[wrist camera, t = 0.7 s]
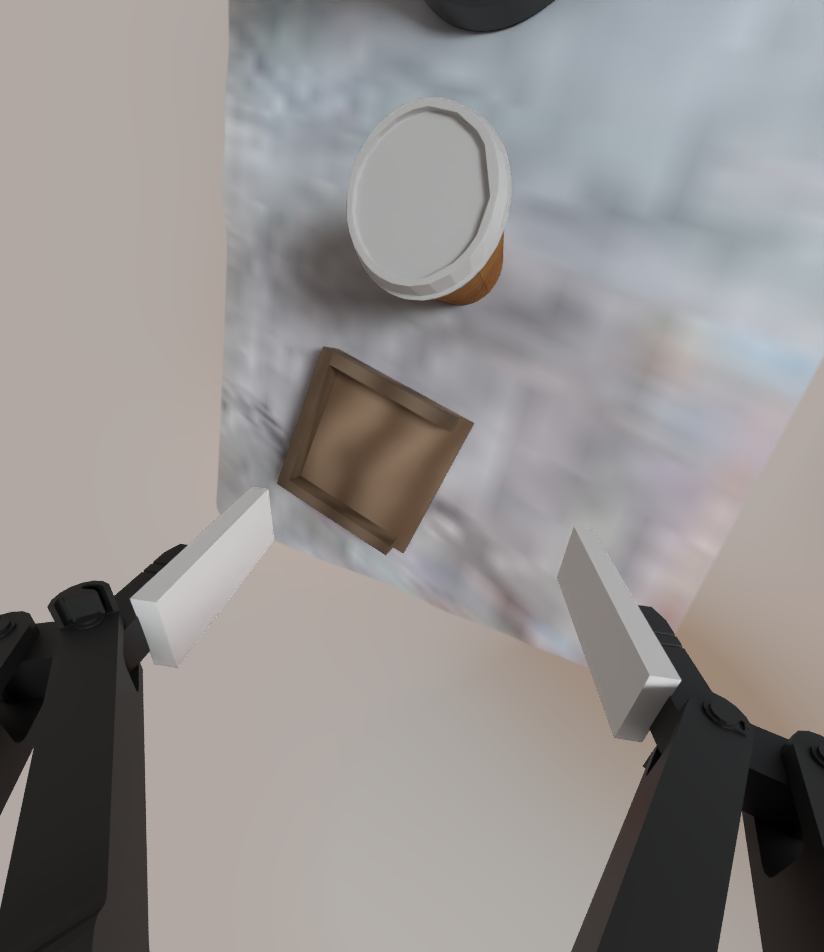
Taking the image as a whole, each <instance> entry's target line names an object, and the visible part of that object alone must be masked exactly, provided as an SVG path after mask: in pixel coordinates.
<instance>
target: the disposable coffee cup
mask: <svg viewBox="0 0 824 952" xmlns="http://www.w3.org/2000/svg"><path fill="white" fill-rule="evenodd" d="M511 193H512V187H511V171H510V166H509V162H508V157H507V153H506V151H505V148H504V145H503V143H502V141H501V139H500V138H499V136H498V134H497V132H496V131H495V130H494V128H493V127H492V126H491V125H490V124H489V122H488V121H487V120H486V119H485V118H484V117H482V116H481V115H479V114H478V113H476V112H475V111H474V110H472V109H470V108H468V107H466V106H464V105H462V104H460V103H458V102H456V101H454V100H452V99H446V98H440V97H430V98H421V99H416V100H414V101H411V102H409V103H406V104H404V105H402V106H400V107H398V108H397V109H395V110H394V111H392V112H391V113H390V114H389V115H387V116H386V117H385V118H384V119H383V120H381V121H380V122H379V124H378V125H377V126H376V127H375V128H374V130H373V131H372V132H371V133H370V134H369V136H368V137H367V139H366V140H365V142H364V144H363V145H362V147H361V149H360V151H359V153H358V155H357V157H356V159H355V162H354V165H353V168H352V171H351V174H350V179H349V184H348V189H347V222H348V227H349V232H350V236H351V239H352V242H353V245H354V248H355V252H356V255H357V257H358V259H359V261H360V263H361V265H362V267H363V269H364V270H365V271H366V273H367V274H368V275H369V277H370V278H371V279H372V280H373V281H374V282H375V283H376V284H377V285H378V286H379V287H380V288H382V289H384V290H385V291H387V292H388V293H390V294H392V295H395V296H397V297H400V298H403V299H409V300H420V301H424V300H431V299H434V300H438V301H442V302H446V303H450V304H454V305H467V304H471V303H474V302H477V301H478V300H480V299H481V298H483V297H484V296H485V295H487V294H488V293H489V292H490V291H491V289H492V288H493V286H494V285H495V284H496V282H497V280H498V278H499V276H500V272H501V269H502V263H503V238H504V228H505V225H506V223H507V220H508V216H509V209H510V202H511Z"/></svg>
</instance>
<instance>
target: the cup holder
mask: <svg viewBox="0 0 824 952" xmlns="http://www.w3.org/2000/svg"><path fill="white" fill-rule="evenodd" d="M473 425H474V423H473V422H471V421H469V420H467V419H465V418H464V417H462V416H460V415H458V414H456V413H454V412H453V411H451V410H449V409H447V408H445V407H443V406H442V405H440V404H438V403H436V402H434V401H432V400H431V399H429V398H427V397H425V396H423V395H421V394H420V393H418V392H416V391H414V390H412V389H411V388H409V387H407V386H405V385H403V384H401V383H400V382H398V381H396V380H394V379H392V378H390V377H389V376H387V375H385V374H383V373H381V372H379V371H378V370H376V369H374V368H372V367H370V366H368V365H367V364H365V363H363V362H361V361H359V360H357V359H356V358H354V357H352V356H350V355H348V354H347V353H345V352H343V351H341V350H339V349H336V348H329V347H323V349H322V351H321V354H320V357H319V360H318V363H317V366H316V369H315V372H314V375H313V378H312V381H311V384H310V387H309V390H308V393H307V396H306V399H305V402H304V405H303V408H302V411H301V414H300V417H299V420H298V423H297V426H296V429H295V432H294V435H293V437H292V440H291V443H290V446H289V449H288V452H287V455H286V458H285V461H284V464H283V467H282V470H281V473H280V476H279V479H278V482H277V484H278V485H280V486H281V487H283V488H284V489H286V490H287V491H289V492H290V493H292V494H294V495H295V496H297V497H298V498H300V499H301V500H303V501H304V502H306V503H307V504H309V505H310V506H312V507H313V508H315V509H316V510H318V511H319V512H321V513H322V514H324V515H325V516H327V517H328V518H330V519H331V520H333V521H335V522H336V523H338V524H339V525H341V526H342V527H344V528H345V529H347V530H348V531H350V532H351V533H353V534H354V535H356V536H357V537H359V538H360V539H362V540H363V541H365V542H366V543H368V544H369V545H371V546H372V547H374V548H375V549H377V550H379V551H380V552H382V553H383V554H385V555H386V554H387V553H388V552H389V551H390V550H391V549H392V548H393V547H394V548H396V549H397V550H399V551H400V552H402V553H404V551H405V550H406V548H407V546H408V544H409V543H410V541H411V539H412V537H413V535H414V533H415V532H416V530H417V528H418V526H419V524H420V522H421V520H422V519H423V517H424V515H425V513H426V511H427V509H428V508H429V506H430V504H431V502H432V500H433V498H434V496H435V495H436V493H437V491H438V489H439V487H440V485H441V484H442V482H443V480H444V478H445V476H446V474H447V472H448V471H449V469H450V467H451V465H452V463H453V461H454V460H455V458H456V456H457V454H458V452H459V450H460V449H461V447H462V445H463V443H464V441H465V439H466V437H467V436H468V434H469V432H470V430H471V428H472V426H473Z"/></svg>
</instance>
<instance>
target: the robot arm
mask: <svg viewBox="0 0 824 952" xmlns="http://www.w3.org/2000/svg"><path fill="white" fill-rule="evenodd" d="M552 1H554V0H426V2H427V3H428V4H429V6H430V7H431V8H432V9H433V10H434V11H435V12H436V13H437V14H438V15H439V16H440V17H441V18H442V19H444V20H445V21H447V22H449V23H451V24H452V25H454V26H457V27H460V28H463V29H467V30H473V31H490V30H496V29H501V28H505V27H508V26H511V25H514V24H516V23H518V22H521V21H523V20H525V19H527V18H529V17H531V16H532V15H534V14H536V13H537V12H539V11H540V10H542V9H543V8H545V7H546V6H547V5H549V4H550V3H551V2H552ZM273 541H274V533H273V525H272V516H271V508H270V499H269V491H268V489H266V488H258V487H251V488H250V489H248V490H247V491H246V492H245V493H244V494H243V495H242V496H241V497H240V498H239V499H238V500H236V501H235V502H234V503H233V504H232V505H231V506H230V507H229V508H228V509H227V510H226V511H225V512H223V513H222V514H221V515H220V516H219V517H218V518H217V519H216V520H215V521H214V522H213V523H211V524H210V525H209V526H208V527H207V528H206V529H205V530H204V531H203V532H202V533H201V534H200V535H199V536H197V537H196V538H195V539H194V540H193V541H192V542H191V543H190V544H189V545H184V544H179V545H177V546H175V547H173V548H172V549H170V550H168V551H166V552H164V553H163V554H162V555H161V556H160V557H159V558H157V559H156V560H155V561H154V563H153V564H151V565H149V566H148V567H147V568H146V569H145V570H144V572H141V573H140V574H139V575H138V576H137V577H136V578H134V579H133V580H132V581H131V582H130V583H129V584H128V585H126V587H124V588H123V589H122V590H121V591H119V592H118V593H117V594H116V595H115V596H114V595H113V593H112V590H111V588H110V585H109V584H108V583H106V582H104V581H90V582H84V583H80V584H78V585H75V586H72V587H70V588H68V589H66V590H64V591H63V592H61V593H59V594H58V595H57V596H56V597H55V598H54V599H52V600H51V602H50V604H49V605H48V609H49V611H50V613H51V615H52V617H53V619H54V621H55V622H46V623H38V624H35V622H34V621H33V619H32V617H31V615H30V614H29V613H26V612H23V611H20V612H10V613H6V614H2V615H0V815H1V813H2V811H3V808H4V806H5V804H6V802H7V800H8V798H9V796H10V794H11V792H12V790H13V788H14V786H15V784H16V782H17V780H18V778H19V776H20V774H21V772H22V770H23V768H24V766H25V764H26V762H27V760H28V757H29V756H30V753H31V751H32V749H33V747H34V750H33V755H32V760H31V764H30V769H29V774H28V779H27V783H26V788H25V793H24V798H23V803H22V807H21V812H20V817H19V821H18V826H17V831H16V836H15V841H14V845H13V850H12V855H11V860H10V865H9V870H8V874H7V879H6V884H5V889H4V894H3V898H2V903H1V908H0V952H149V935H148V893H147V892H148V889H147V846H146V845H147V844H146V801H145V757H144V756H145V754H144V710H143V669H142V667H141V664H140V662H141V661H142V659H143V658H144V657H145V656H146V655H147V654H148V653H149V652H150V654H151V657H152V660H153V662H154V664H156V665H162V666H169V667H175V668H178V667H179V665H180V664H181V663H182V661H183V660H184V659H185V657H186V656H187V655H188V653H189V652H190V651H191V649H192V648H193V647H194V646H195V644H196V642H198V640H199V639H200V638H201V636H202V635H203V634H204V632H205V631H206V629H207V628H208V627H209V626H210V624H211V623H212V622H213V620H214V619H215V618H216V616H217V615H218V614H219V612H220V611H221V610H222V608H223V607H224V606H225V604H226V603H227V602H228V600H229V599H230V598H231V596H232V595H233V594H234V593H235V591H236V590H237V589H238V587H239V586H240V585H241V583H242V582H243V581H244V579H245V578H246V577H247V575H248V574H249V573H250V571H251V570H252V568H253V567H254V566H255V565H256V563H257V562H258V561H259V559H260V558H261V557H262V555H263V554H264V553H265V551H266V550H267V549H268V548H269V546H270V545H271V544H272V542H273ZM557 579H558V581H559V584H560V587H561V590H562V593H563V595H564V598H565V601H566V604H567V607H568V610H569V612H570V615H571V618H572V621H573V624H574V626H575V629H576V632H577V635H578V638H579V640H580V643H581V646H582V649H583V652H584V654H585V657H586V660H587V663H588V666H589V668H590V671H591V674H592V677H593V679H594V683H595V685H596V688H597V691H598V694H599V696H600V699H601V702H602V705H603V708H604V711H605V713H606V716H607V719H608V722H609V725H610V727H611V730H612V733H613V736H614V738H618V739H625V740H631V741H637V742H642V741H643V740H644V738H645V736H646V735H647V734H648V732H649V731H651V733H652V735H653V738H654V739H655V742H656V744H657V746H656V747H655V749H654V750H653V752H652V753H651V755H650V756H649V758H648V759H647V761H646V762H645V764H644V765H643V767H644V768H646V769H645V772H644V774H643V776H642V779H641V781H640V784H639V786H638V789H637V791H636V794H635V796H634V799H633V801H632V803H631V806H630V808H629V811H628V813H627V816H626V819H625V821H624V823H623V826H622V829H621V831H620V833H619V835H618V838H617V840H616V843H615V845H614V848H613V850H612V853H611V855H610V858H609V860H608V863H607V865H606V868H605V870H604V872H603V875H602V878H601V880H600V882H599V885H598V887H597V890H596V892H595V894H594V897H593V899H592V902H591V904H590V907H589V909H588V912H587V914H586V917H585V919H584V921H583V924H582V926H581V929H580V932H579V934H578V936H577V939H576V941H575V944H574V946H573V949H572V951H571V952H717V950H718V944H719V939H720V932H721V926H722V921H723V916H724V910H725V904H726V898H727V892H728V887H729V880H730V875H731V869H732V863H733V857H734V852H735V846H736V840H737V834H738V829H739V823H740V817H741V811H742V814H743V821H744V828H745V835H746V841H747V848H748V855H749V862H750V868H751V875H752V882H753V888H754V895H755V902H756V908H757V915H758V922H759V928H760V935H761V942H762V948H763V952H824V737H823V736H821V735H818V734H816V733H813V732H810V731H797V732H796V733H795V734H794V735H792V737H791V738H790V739H789V740H788V739H786V738H783V737H781V736H779V735H776V734H774V733H771V732H769V731H767V730H764V729H762V728H759V727H756V726H754V725H752V724H750V723H749V721H748V719H747V718H746V717H745V715H744V714H742V712H741V711H740V710H739V709H738V708H737V707H736V706H734V705H733V704H732V703H730V702H729V701H728V700H726V699H725V698H723V697H721V696H719V695H717V694H715V693H713V692H712V691H711V690H710V688H709V686H708V685H707V683H706V682H705V680H704V679H703V677H702V676H701V674H700V672H699V671H698V669H697V668H696V666H695V665H694V663H693V662H692V660H691V658H690V657H689V655H688V654H687V652H686V651H685V649H683V648H682V645H681V643H680V642H679V640H678V638H677V637H675V634H674V632H673V631H672V629H671V627H670V626H669V624H668V623H667V621H666V620H665V619H664V618H663V617H662V616H661V615H660V614H659V613H657V612H656V611H655V610H654V609H653V608H652V607H647V606H640V605H637V603H636V601H635V600H634V598H633V596H632V595H631V593H630V591H629V590H628V588H627V586H626V584H625V583H624V581H623V579H622V578H621V576H620V574H619V572H618V571H617V569H616V567H615V566H614V564H613V562H612V560H611V559H610V557H609V555H608V554H607V552H606V550H605V549H604V547H603V545H602V543H601V542H600V540H599V538H598V537H597V535H596V533H595V531H594V530H593V529H591V528H582V527H574V528H573V531H572V534H571V537H570V540H569V543H568V546H567V549H566V552H565V555H564V558H563V561H562V564H561V567H560V570H559V573H558V576H557Z"/></svg>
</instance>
